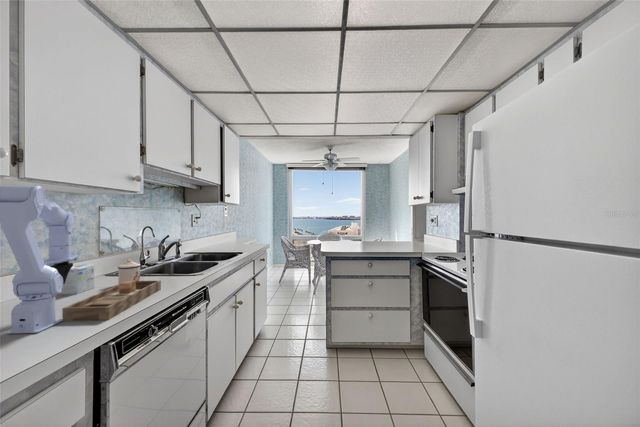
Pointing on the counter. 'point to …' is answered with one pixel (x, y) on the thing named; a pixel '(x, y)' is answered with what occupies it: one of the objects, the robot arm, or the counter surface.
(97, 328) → the counter surface
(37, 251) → the robot arm
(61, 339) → the counter surface
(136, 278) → the teacup with lid
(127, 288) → the block
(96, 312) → the track
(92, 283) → the light bulb box
